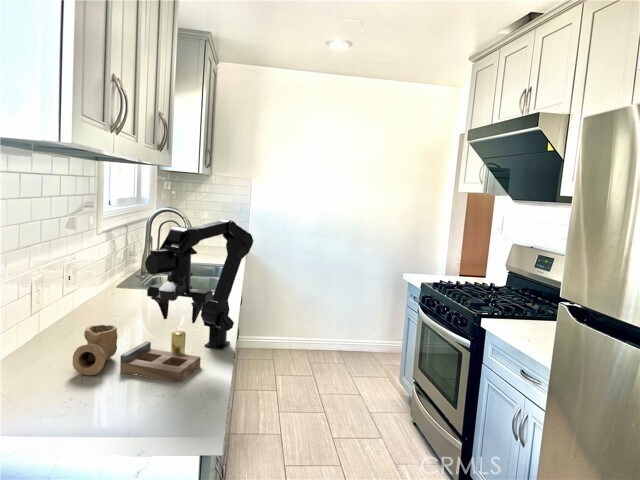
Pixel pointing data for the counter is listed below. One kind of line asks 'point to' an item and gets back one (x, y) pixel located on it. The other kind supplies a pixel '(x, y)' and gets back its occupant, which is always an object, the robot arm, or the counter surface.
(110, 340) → the pipe
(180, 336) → the brass cylinder rod
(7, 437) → the counter surface
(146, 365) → the jig
